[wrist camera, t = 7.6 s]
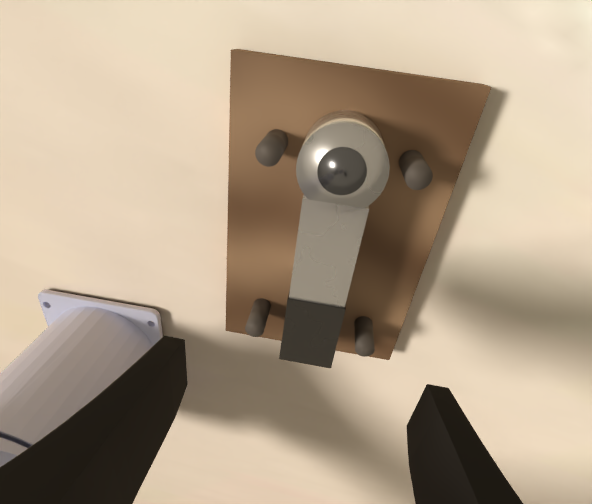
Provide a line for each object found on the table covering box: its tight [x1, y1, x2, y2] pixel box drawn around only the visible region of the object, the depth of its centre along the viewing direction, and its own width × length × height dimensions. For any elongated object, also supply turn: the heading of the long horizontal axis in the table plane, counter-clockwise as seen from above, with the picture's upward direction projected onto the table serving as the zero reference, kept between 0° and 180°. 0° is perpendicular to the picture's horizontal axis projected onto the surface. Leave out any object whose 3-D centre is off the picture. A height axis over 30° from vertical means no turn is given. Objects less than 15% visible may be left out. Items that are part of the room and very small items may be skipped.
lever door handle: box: [279, 110, 390, 368], centre depth 16 cm, size 12×3×3 cm, turn 173°
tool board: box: [226, 49, 491, 360], centre depth 17 cm, size 15×10×3 cm, turn 173°
